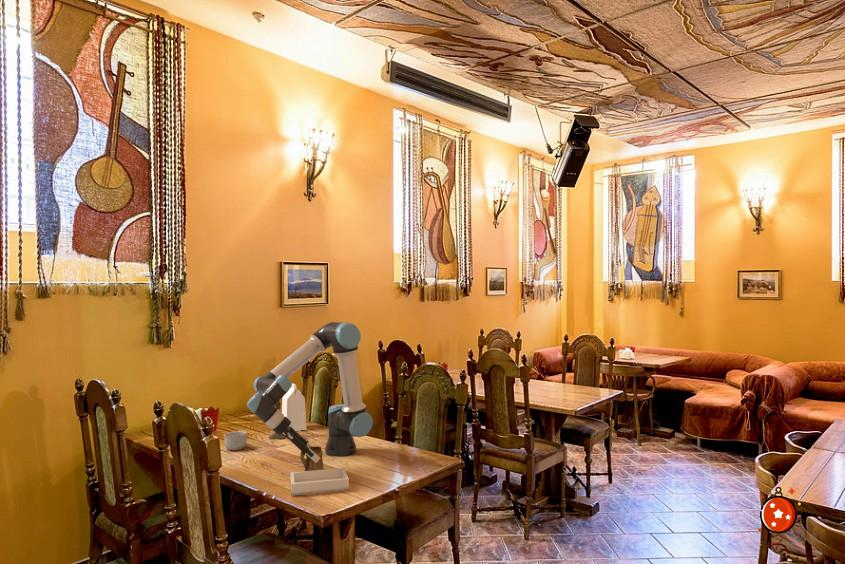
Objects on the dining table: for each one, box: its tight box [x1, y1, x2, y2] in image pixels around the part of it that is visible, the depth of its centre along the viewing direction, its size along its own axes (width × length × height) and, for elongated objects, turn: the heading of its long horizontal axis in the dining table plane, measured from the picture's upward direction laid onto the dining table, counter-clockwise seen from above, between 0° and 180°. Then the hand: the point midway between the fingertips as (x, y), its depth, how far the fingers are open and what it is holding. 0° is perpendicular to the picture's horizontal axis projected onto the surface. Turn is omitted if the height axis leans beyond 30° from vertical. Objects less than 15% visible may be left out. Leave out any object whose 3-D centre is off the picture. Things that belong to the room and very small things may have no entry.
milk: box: [281, 383, 307, 432], centre depth 321 cm, size 12×12×26 cm
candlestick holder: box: [268, 400, 287, 440], centre depth 303 cm, size 9×9×30 cm
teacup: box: [223, 430, 247, 452], centre depth 282 cm, size 14×11×8 cm
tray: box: [289, 467, 350, 497], centre depth 223 cm, size 22×15×4 cm
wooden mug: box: [295, 436, 325, 471], centre depth 238 cm, size 9×14×18 cm, turn 130°
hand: (317, 457), depth 239 cm, fingers closed on wooden mug, 7 cm apart
